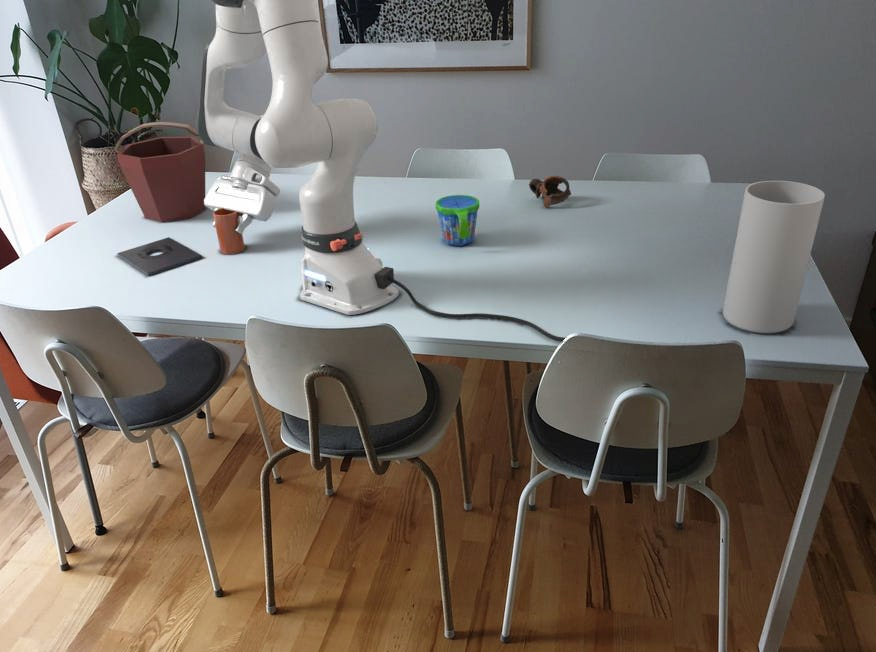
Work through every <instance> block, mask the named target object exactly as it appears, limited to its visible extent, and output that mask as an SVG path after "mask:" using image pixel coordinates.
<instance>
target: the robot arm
mask: <svg viewBox="0 0 876 652" xmlns="http://www.w3.org/2000/svg"><path fill="white" fill-rule="evenodd" d="M211 1H212V2H213V3H214V4H215V26H216V28H215V34H214V36H213V37H211V38H210V39H209V40H208V41H207V42H206V44H205V46H204V49H203V50H204V51H203V56H202V65H201V77H200V78H201V79H200V91H199V92H200V93H199V106H198V110H197V114H196V119H195V129H196V130H197V132H198V134H199V136H198V137H199V139H202V141H203V142H204V143H205V145H207V146H211V147H216V148H221V149H225V150H228V151H231V152H235V153H238V154H240V155H239V156H238V158H236V160H235V162H234V165H233V167H232V170H231V172H230V174H229V176H227V175H221V176H220V177H218V178H216V179H215V181H214V182H213V183H212V184H211V186H210V188H209V189H208V191H207V192H206V194H205V199H204V205H205V206H206V208H207V209H209V210H211V211H213V212H214V211H215V210H217V209H220V208H224V209H225V210H228V211H233V212H236V211H238V213H239V217H241V218H242V220H240V223H239V224H236V226H235V228H234V231H235V232H236V233H239V234H242V235H243V233H244V231H245V229H246V228H247V227H248V226H249V225H250V224H252V222H253V220H256V221H262V222H266V221H268V220H269V219H271V217H272V214H273V212H274V210H275V207H276V204H277V197H278V196H279V195H280V193H281V188H280V187H278V186H277V185H276V184H275V183H274V182H273V181H272V180H271V179H270V177H271V171H272V168H273V169H292V168H300V167H304V166H305V167H306V166H308V165H313V164H316V167H315V169H314V171H313V173H312V175H311V176H310V177H309V178H308V179H307V180H306V181H305V182H304V183H302V185H301V187H300V190H299V193H298V201H299V208H300V215H301V222H302V226H301V229H300V230H301V231H300V232H301V235H300V236H301V240H302V245H303V246H304V251H303V256H302V259H301V278H302V290H301V291H300V293H299V300H300V301H304V302H307V303H309V304H313V305H316V306H319V307H322V308H324V309H328V310H332V311H334V312H337V313H339V314H343V315H347V316H354V315H360V314H361V315H362V314H365V313H368V312H371V311H373V310H376V309H379V308H381V307H383V306H385V305H387V304H389V303H391V302H393V301H394V300H395V299H397V297H398V296H399V294H400V292H399V289H398V288H397V287H399V288H401V289H402V290H403V291H404V292H405V293H406V294H407V296H408V297H409V298H410V300H411V302H412V303H413V304H414V305H415V306H417V307H418V309H420V310H422V311H423V312H426V313H428V314H430V315H435V316H438V317H444V318H449V319H450V318H451V319H466V318H490V319H498V320H507V321H512V322H516V323H519V324H523V325H526V326H529V327H530V328H533V329H534V330H536V331H537V332H538V333H540V334H542V335H543V336H545V337H547V338H549V339H552V340H555V341H557V342H564V341H563V340H564V339H565V338H566V337H564V336H557V335H554V334H551V333H549V332H548V331H546V330H544V329H542V328H541V327H539V325H537V324H535V323H532V322H531V321H528V320H526V319H523V318H519V317H514V316H510V315H503V314H493V313H482V312H481V313H479V312H477V313H475V312H474V313H446V312H440V311H435V310H431V309H429V308H427V307H425V306H424V305H422V304H421V303H420V302H419V301H418V300H416V298H415V297H414V295H413V294H412V292H411V290H409V289H408V288H407V286H405V285H404V284H403V283H401V282H400V281H398V280H396V279H395V273H394V272H395V271H394V267H390V266H389V267H388V266H384V267H383V261H382V259H381V258H380V257H375V256H374V254H372V252H371V251H370V249H369V248H368V247H367V246H366V245H365V244H364V242H363V238H365V236H364V234H365V233H364V232H363V231H361V230H360V227H359V225H358V222H357V221H356V220H355V206H354V184H355V179H356V176H357V172H358V170H359V169H358V168H359V166H360V163H361V161H362V159H363V157H364V155H365V154H366V153H367V151H368V150H369V149H370V147H371V146H372V145H373V144H374V143H375V140H376V138H377V135H378V119H377V116H376V113H375V110H374V109H373V108H372V107H371V105H370V104H369V103H368V102H367V101H366V100H364V99H361V98H336V99H330V100H326V101H321V102H315V103H314V101H313V87H314V85H315V84H316V83H318V82H319V81H320V80H321V78H323V76H324V75H325V74H326V72H327V70H328V66H329V57H328V52H327V50H326V49H327V48H326V45H325V41H324V36H323V33H322V29H321V25H320V22H319V21H320V20H319V18H318V14H317V10H316V7H315V4H314V2H313V0H211ZM265 54H267V57H268V63H269V67H270V72H271V73H270V74H271V79H272V81H271V83H272V84H271V85H272V86H271V96H270V100H269V103H268V107H267V108H266V111H265V112H264V114H261V115H258V114H255V113H252V112H248V111H244V110H241V109H237V108H234V107H231V106H229V105H227V103H226V102H225V101H224V90H225V81H226V80H225V78H226V72H227V71H228V70H231V69H239V68H245V67H249V66H251V65H253V64H255V63H257V62H258V61H260V60H261V59H262V58H263V57H264V56H265ZM212 227H213V228H215V229H216V227H215V222H214V221H213V222H212ZM362 235H363V236H362ZM392 284H394V285H396V286H397V287H395V286H394V285H392Z"/></svg>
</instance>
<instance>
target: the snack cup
mask: <svg viewBox="0 0 876 652" xmlns="http://www.w3.org/2000/svg"><path fill="white" fill-rule="evenodd" d="M480 206H481V205H480V200H479V199H478V198H477V197H475V196H472V195H468V194H452V195H446V196H442V197H441V198H439V199H437V200H436V201H435V210H436V212H437V215H438V221H439V222H438V223H439V226H440V231H441V237H442V240H443V242H445V244H446V245H449V246H457V247H459V246H460V247H462V246H465V245H468V244H470V243H472V242H474V238H475V233H476V226H477V217H478V211H479V209H480Z"/></svg>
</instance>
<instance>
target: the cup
mask: <svg viewBox="0 0 876 652" xmlns="http://www.w3.org/2000/svg"><path fill="white" fill-rule="evenodd" d="M212 216H213V220H214V221H213V222H215V227H216V228H215V227H214V228H215V232H216V236H217V241H218V245H219V251H220V253H221V254H222V255H235V254H239V253H242V252H243V251H245V249H246V247H245V246H246V245H245V241H244V235H243V233H242V234H239V233H236V232H235V231H234V228H235V226H236V224H239V223H240V222H241V218H240V216H239V213H238V211H236V212H233V211H228V210H225V209H224V208H220V209H217V210H215V211H213V212H212Z"/></svg>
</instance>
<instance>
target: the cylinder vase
mask: <svg viewBox="0 0 876 652" xmlns="http://www.w3.org/2000/svg"><path fill="white" fill-rule="evenodd" d="M825 196H826V194H825V192H824V191H823V190H821V189H820V188H817V187H816V186H813V185H810V184H807V183H802V182H796V181H790V180H789V181H788V180H765V181H764V180H763V181H757V182H753V183H751V184H749V185H747V186H746V187H745V191H744V195H743V201H742V206H741V211H740V217H739V222H738V227H737V233H736V238H735V244H734V249H733V253H732V260H731V265H730V269H729V270H730V271H729V276H728V281H727V285H726V291H725V297H724V301H723V302H724V303H723V308H722V315H723V317H724V319H725V321H727V323H729V324H730V325H732V326H733V327H736V328H738V329H740V330H743V331H746V332H751V333H756V334H776V333H780V332H784V331H787V330H789V329H790V328H791V327H792V326H793V325H794V323H795V320H796V315H797V311H798V307H799V303H800V298H801V295H802V291H803V286H804V283H805V279H806V274H807V271H808V266H809V262H810V259H811V254H812V251H813V250H812V249H813V245H814V241H815V236H816V233H817V231H818V230H817V229H818V225H819V221H820V217H821V213H822V209H823V205H824V201H825Z"/></svg>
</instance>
